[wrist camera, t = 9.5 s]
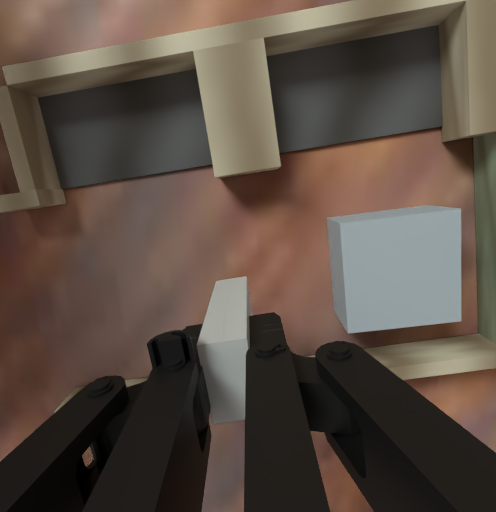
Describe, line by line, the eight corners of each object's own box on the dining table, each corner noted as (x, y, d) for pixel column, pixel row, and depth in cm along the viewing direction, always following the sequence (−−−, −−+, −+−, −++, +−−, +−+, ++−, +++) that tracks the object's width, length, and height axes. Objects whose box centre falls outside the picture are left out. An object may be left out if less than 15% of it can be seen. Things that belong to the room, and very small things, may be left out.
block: (333, 310, 25) (348, 333, 21) (326, 217, 24) (340, 223, 20) (429, 300, 25) (461, 321, 21) (426, 205, 24) (461, 208, 20)
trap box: (79, 398, 27) (57, 423, 24) (-8, 90, 23) (-48, 75, 20) (492, 343, 25) (523, 364, 22) (485, -1, 21) (523, -32, 18)
